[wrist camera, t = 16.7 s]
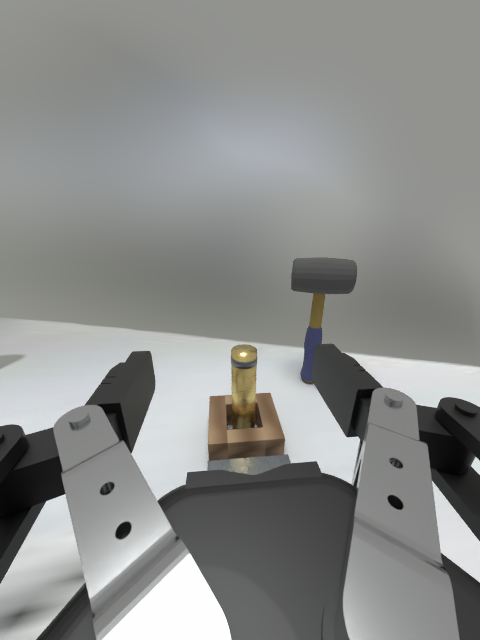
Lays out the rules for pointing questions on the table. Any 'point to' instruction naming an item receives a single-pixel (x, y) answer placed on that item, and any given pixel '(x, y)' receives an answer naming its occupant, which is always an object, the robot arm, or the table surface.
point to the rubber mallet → (320, 295)
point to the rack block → (244, 430)
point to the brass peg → (243, 386)
